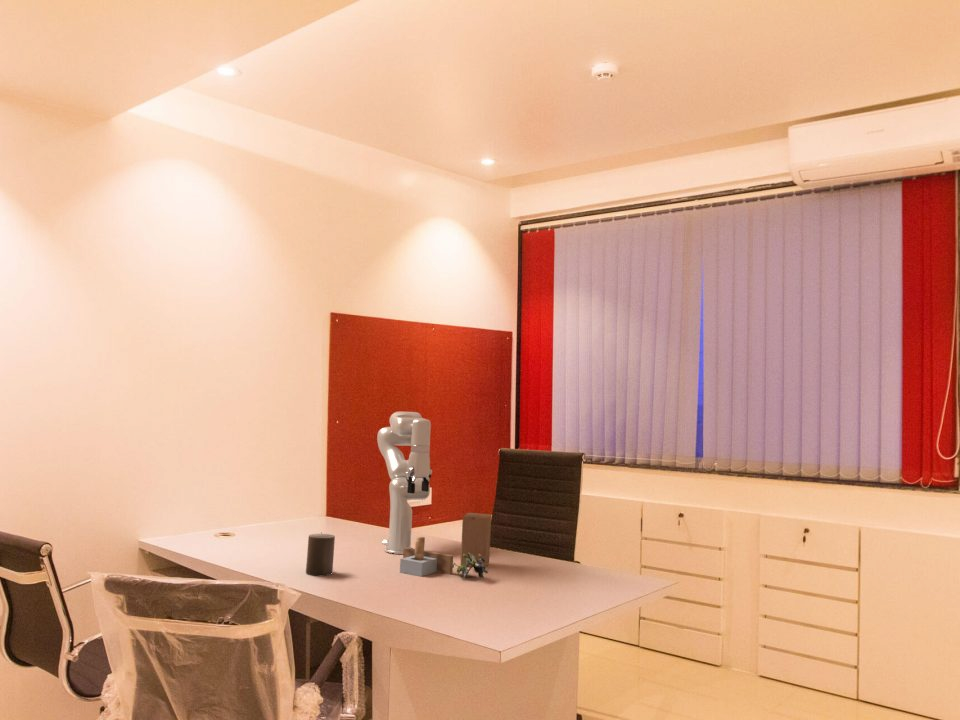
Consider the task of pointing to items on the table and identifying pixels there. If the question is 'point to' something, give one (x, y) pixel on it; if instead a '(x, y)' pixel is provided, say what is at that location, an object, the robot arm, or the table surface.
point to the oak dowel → (419, 548)
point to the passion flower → (474, 562)
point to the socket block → (418, 566)
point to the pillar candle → (320, 554)
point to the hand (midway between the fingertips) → (418, 492)
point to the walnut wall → (442, 559)
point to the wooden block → (476, 536)
